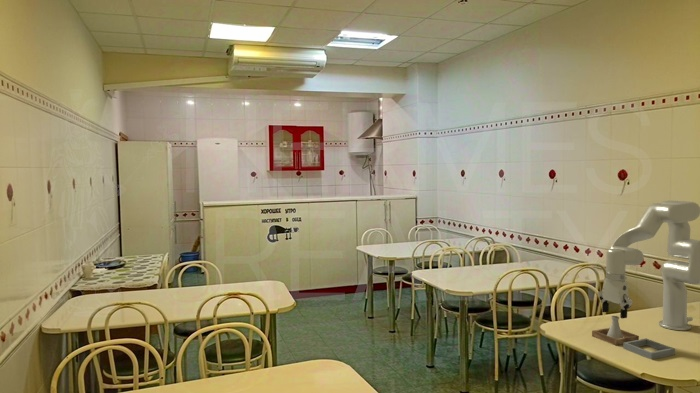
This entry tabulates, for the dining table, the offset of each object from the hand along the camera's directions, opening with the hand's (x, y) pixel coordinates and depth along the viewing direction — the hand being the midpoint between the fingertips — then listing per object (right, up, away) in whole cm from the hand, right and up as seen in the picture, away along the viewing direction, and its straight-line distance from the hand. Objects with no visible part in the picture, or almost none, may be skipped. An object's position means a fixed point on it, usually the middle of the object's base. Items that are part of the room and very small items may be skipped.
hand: (614, 314), depth 219 cm
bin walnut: (+1, -11, +1) cm, 11 cm away
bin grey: (+6, -12, -15) cm, 20 cm away
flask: (+1, -11, +1) cm, 11 cm away
